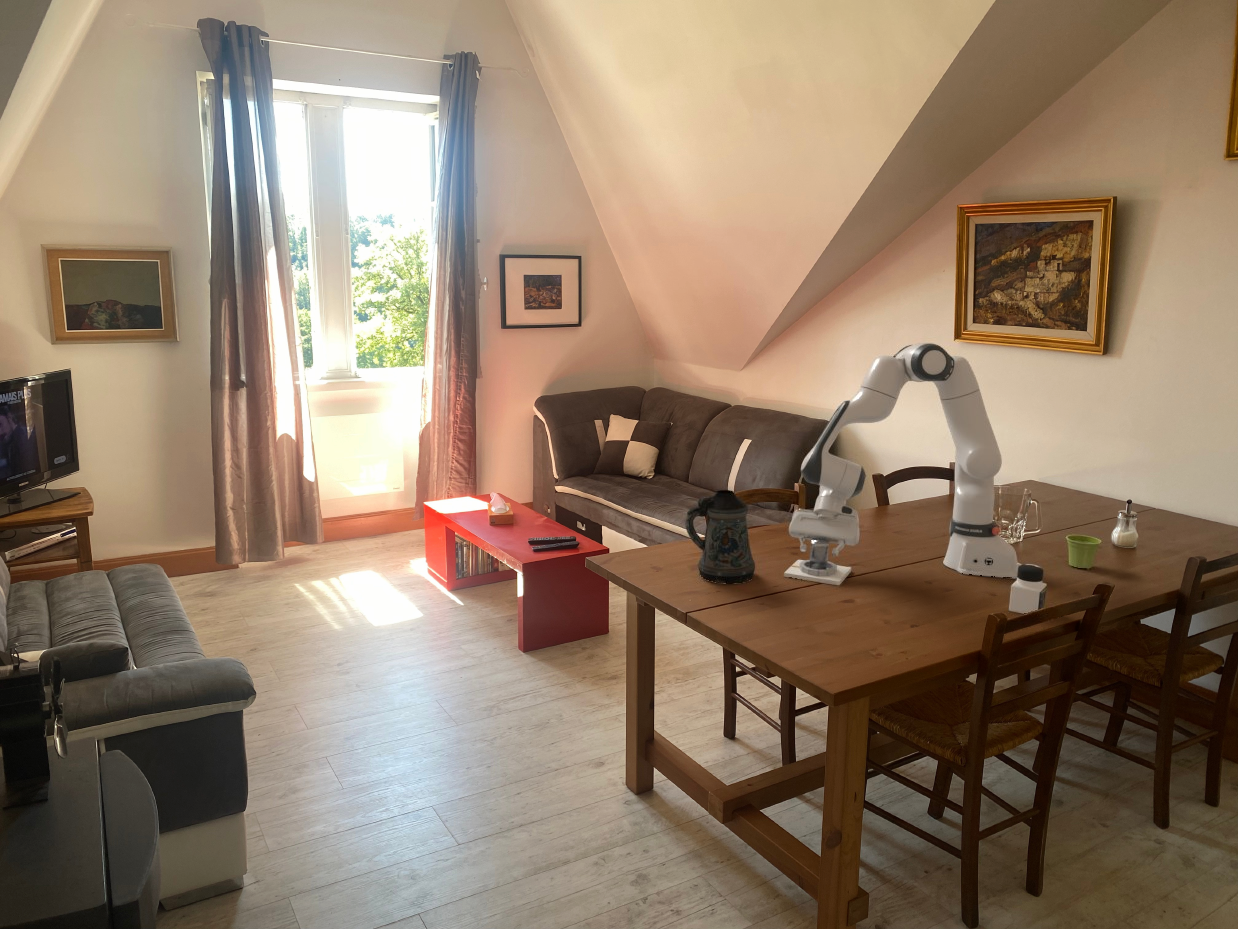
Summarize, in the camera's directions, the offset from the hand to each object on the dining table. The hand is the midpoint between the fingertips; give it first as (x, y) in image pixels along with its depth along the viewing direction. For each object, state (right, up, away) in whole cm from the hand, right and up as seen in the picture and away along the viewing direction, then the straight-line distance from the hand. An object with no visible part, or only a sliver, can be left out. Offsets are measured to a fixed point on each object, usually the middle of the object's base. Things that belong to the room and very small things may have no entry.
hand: (818, 552), depth 261 cm
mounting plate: (0, -6, +2) cm, 7 cm away
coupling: (0, -5, +2) cm, 5 cm away
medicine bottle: (+49, -13, -26) cm, 56 cm away
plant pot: (+81, -5, +10) cm, 82 cm away
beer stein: (-28, -7, 0) cm, 29 cm away
